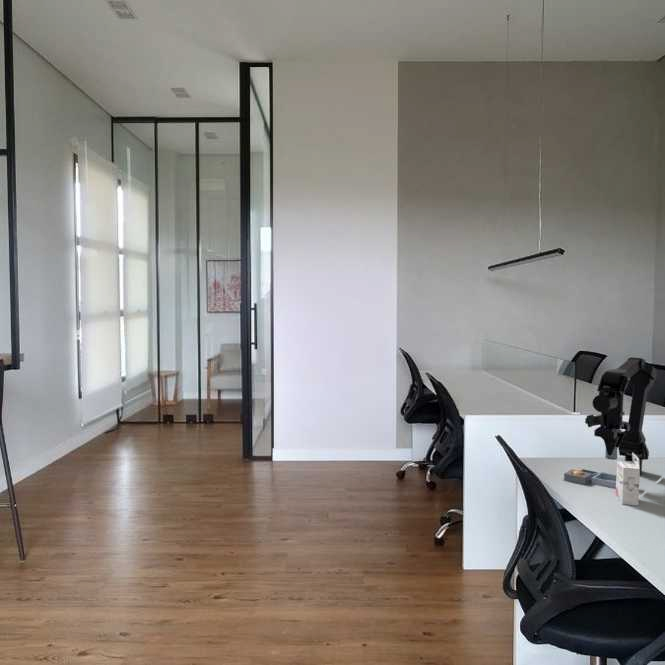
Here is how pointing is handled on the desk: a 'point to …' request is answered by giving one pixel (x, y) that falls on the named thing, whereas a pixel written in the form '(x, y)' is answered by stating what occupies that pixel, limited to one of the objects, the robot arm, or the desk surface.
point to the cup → (604, 480)
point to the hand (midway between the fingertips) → (611, 454)
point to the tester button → (578, 473)
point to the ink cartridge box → (628, 481)
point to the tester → (579, 476)
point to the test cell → (614, 454)
